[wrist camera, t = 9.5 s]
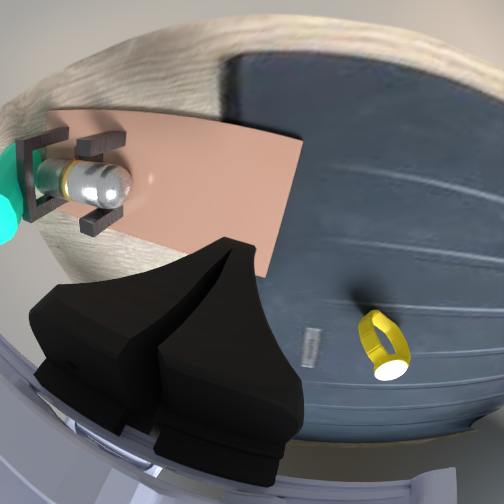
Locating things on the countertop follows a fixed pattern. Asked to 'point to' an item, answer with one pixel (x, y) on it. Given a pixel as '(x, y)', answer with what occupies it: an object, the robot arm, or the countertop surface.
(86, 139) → the black upright posts
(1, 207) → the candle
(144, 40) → the countertop surface
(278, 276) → the countertop surface
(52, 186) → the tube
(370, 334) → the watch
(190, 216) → the plate
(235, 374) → the robot arm
